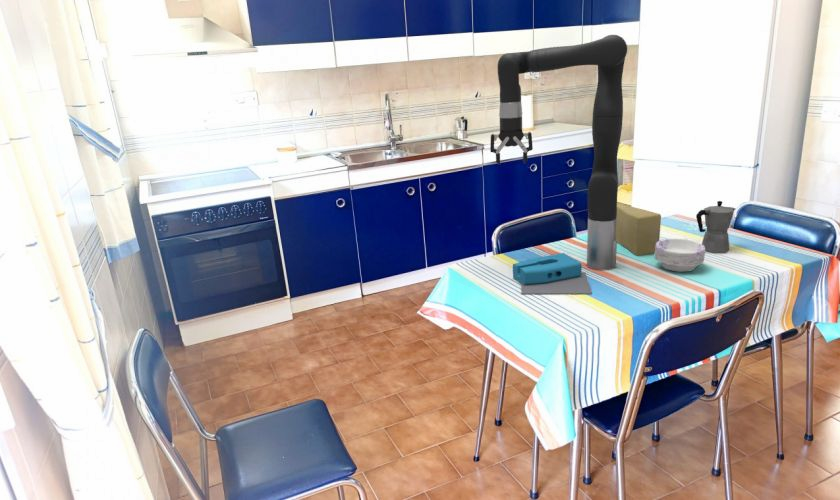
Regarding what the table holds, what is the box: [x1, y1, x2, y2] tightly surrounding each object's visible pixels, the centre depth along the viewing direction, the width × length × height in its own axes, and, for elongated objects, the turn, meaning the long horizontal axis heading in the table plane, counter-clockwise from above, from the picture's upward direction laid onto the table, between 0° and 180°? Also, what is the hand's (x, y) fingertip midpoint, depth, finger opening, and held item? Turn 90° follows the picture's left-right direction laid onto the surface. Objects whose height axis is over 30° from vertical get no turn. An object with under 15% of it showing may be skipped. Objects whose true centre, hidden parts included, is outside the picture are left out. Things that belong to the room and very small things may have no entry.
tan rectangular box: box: [616, 202, 662, 257], centre depth 210 cm, size 22×10×15 cm, turn 16°
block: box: [512, 252, 583, 285], centre depth 188 cm, size 12×5×20 cm
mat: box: [520, 271, 593, 295], centre depth 183 cm, size 22×18×1 cm
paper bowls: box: [654, 238, 706, 273], centre depth 188 cm, size 15×15×8 cm
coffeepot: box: [695, 200, 736, 254], centre depth 199 cm, size 15×9×18 cm, turn 103°
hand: (511, 163), depth 193 cm, fingers open, 8 cm apart
